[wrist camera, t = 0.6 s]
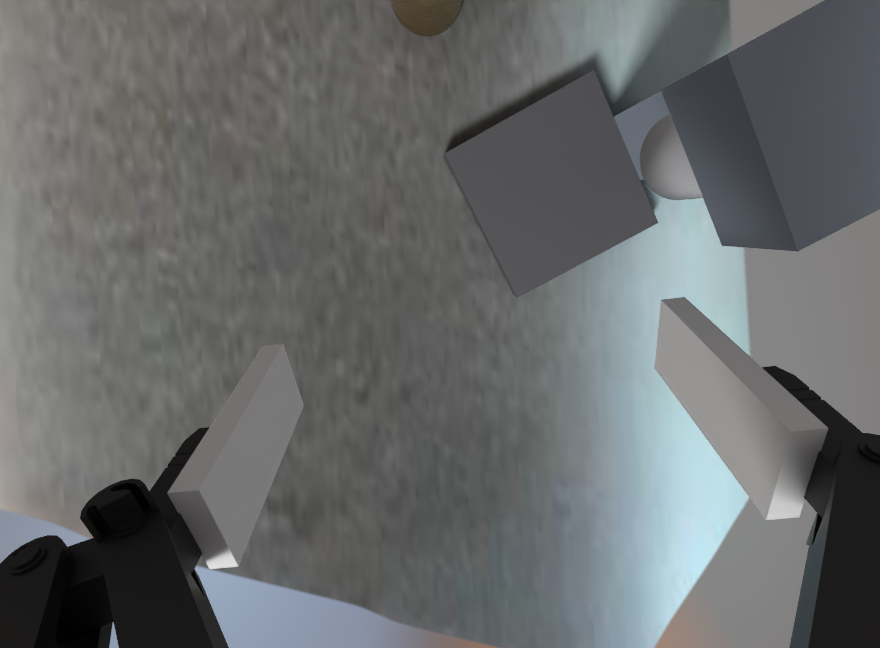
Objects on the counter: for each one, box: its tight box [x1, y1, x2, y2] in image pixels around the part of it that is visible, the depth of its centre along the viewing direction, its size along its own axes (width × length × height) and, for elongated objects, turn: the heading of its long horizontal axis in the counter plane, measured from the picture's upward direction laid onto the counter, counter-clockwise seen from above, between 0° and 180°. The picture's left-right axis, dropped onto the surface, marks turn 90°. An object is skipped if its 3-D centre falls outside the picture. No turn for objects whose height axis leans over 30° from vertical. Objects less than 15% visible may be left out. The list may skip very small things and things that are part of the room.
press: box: [444, 0, 880, 297], centre depth 22 cm, size 15×15×28 cm
